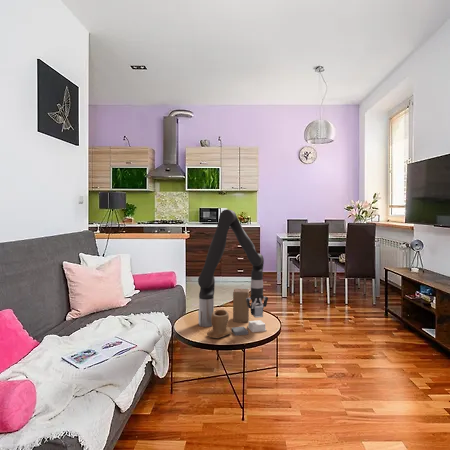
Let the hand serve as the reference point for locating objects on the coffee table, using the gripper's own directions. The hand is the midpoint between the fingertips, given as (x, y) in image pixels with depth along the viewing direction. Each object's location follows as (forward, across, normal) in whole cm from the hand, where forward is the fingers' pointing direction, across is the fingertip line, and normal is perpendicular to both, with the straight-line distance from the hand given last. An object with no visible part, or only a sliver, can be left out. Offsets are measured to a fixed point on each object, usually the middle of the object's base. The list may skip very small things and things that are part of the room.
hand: (256, 313), depth 213 cm
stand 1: (+9, -12, -3) cm, 16 cm away
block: (+9, -4, +19) cm, 22 cm away
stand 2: (+9, 0, 0) cm, 9 cm away
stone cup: (+10, -24, -5) cm, 26 cm away
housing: (+1, 0, 0) cm, 1 cm away
